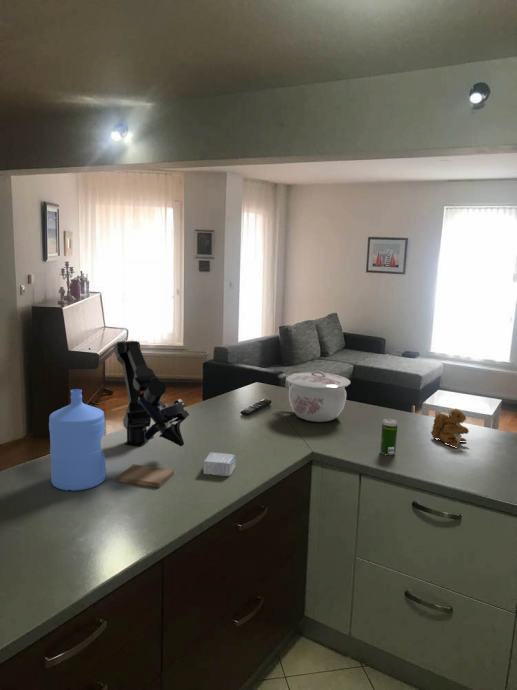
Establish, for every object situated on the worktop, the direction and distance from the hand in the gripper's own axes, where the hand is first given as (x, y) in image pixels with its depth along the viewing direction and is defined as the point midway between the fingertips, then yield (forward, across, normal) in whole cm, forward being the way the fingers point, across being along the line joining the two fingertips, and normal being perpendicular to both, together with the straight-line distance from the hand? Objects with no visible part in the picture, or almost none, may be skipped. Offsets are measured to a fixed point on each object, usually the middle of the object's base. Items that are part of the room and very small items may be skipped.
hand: (182, 445), depth 171 cm
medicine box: (+9, +1, -3) cm, 10 cm away
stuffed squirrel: (+59, +67, -49) cm, 102 cm away
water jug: (-10, -25, +20) cm, 33 cm away
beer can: (+46, +43, -36) cm, 73 cm away
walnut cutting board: (+2, -14, +8) cm, 16 cm away
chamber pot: (+21, +71, -11) cm, 74 cm away
